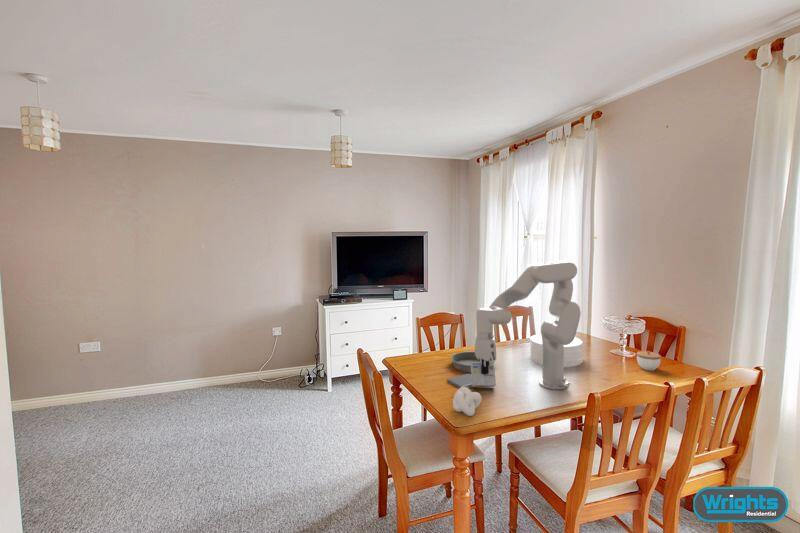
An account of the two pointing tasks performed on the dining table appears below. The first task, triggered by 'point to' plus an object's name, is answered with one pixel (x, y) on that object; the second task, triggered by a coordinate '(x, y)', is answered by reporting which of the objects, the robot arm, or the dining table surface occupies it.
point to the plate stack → (570, 351)
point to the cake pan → (464, 360)
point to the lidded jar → (648, 360)
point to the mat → (461, 381)
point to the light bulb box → (482, 376)
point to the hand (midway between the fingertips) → (484, 373)
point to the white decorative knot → (466, 401)
